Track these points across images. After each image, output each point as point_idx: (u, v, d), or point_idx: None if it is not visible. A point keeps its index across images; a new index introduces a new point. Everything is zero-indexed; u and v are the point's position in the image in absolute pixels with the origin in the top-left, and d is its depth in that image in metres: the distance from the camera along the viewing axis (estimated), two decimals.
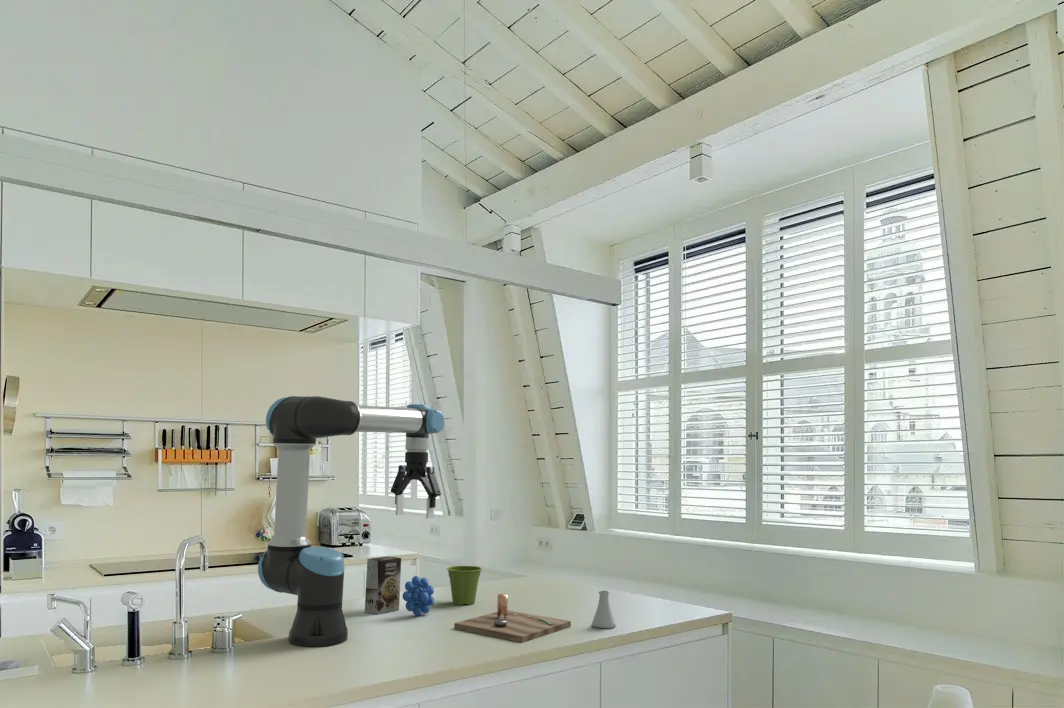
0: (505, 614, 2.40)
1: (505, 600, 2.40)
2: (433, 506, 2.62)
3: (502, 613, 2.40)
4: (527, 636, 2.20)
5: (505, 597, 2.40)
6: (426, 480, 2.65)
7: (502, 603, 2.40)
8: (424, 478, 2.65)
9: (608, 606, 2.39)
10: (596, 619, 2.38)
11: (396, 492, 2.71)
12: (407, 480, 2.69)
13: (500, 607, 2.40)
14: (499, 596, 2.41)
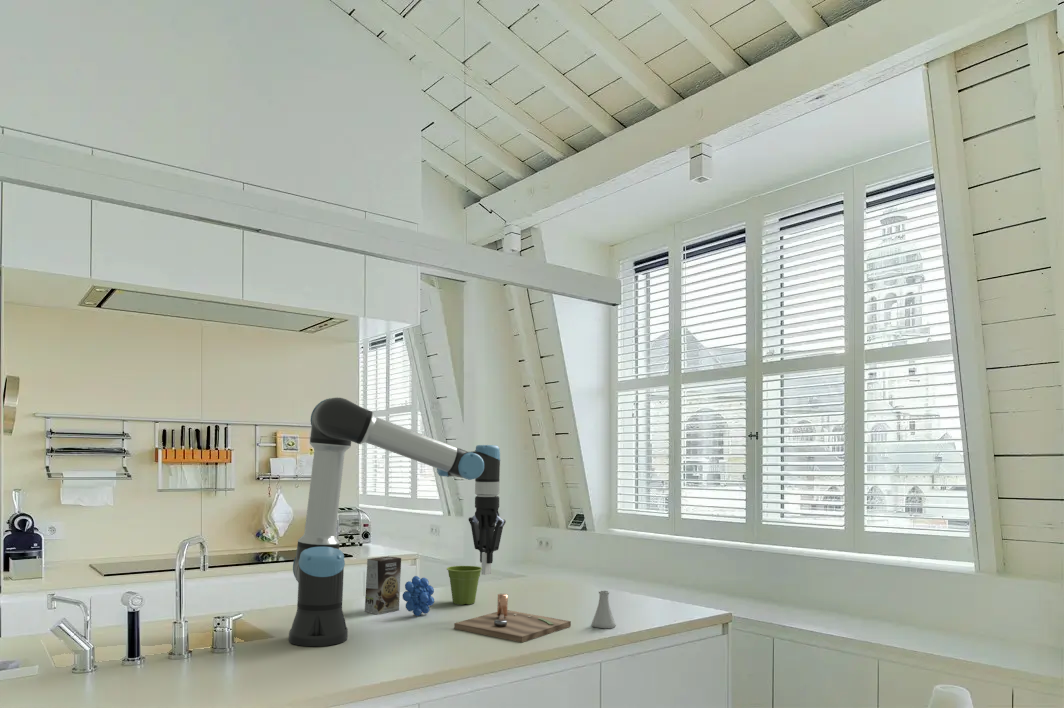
0: (505, 614, 2.40)
1: (505, 600, 2.40)
2: (490, 562, 2.47)
3: (502, 613, 2.40)
4: (527, 636, 2.20)
5: (505, 597, 2.40)
6: (492, 531, 2.48)
7: (502, 603, 2.40)
8: (491, 528, 2.48)
9: (608, 606, 2.39)
10: (596, 619, 2.38)
11: (481, 548, 2.48)
12: (484, 529, 2.49)
13: (500, 607, 2.40)
14: (499, 596, 2.41)
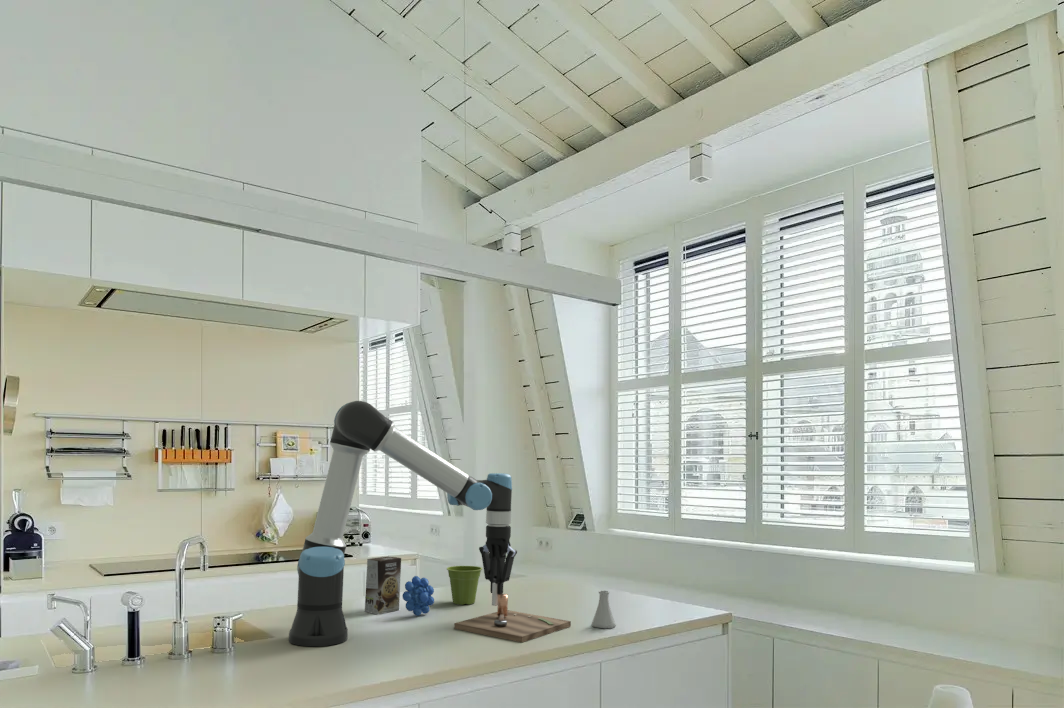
0: (505, 614, 2.40)
1: (505, 600, 2.40)
2: (501, 592, 2.43)
3: (502, 613, 2.40)
4: (527, 636, 2.20)
5: (505, 597, 2.40)
6: (502, 561, 2.44)
7: (502, 603, 2.40)
8: (502, 559, 2.44)
9: (608, 606, 2.39)
10: (596, 619, 2.38)
11: (491, 579, 2.44)
12: (495, 559, 2.45)
13: (501, 607, 2.40)
14: (499, 596, 2.41)
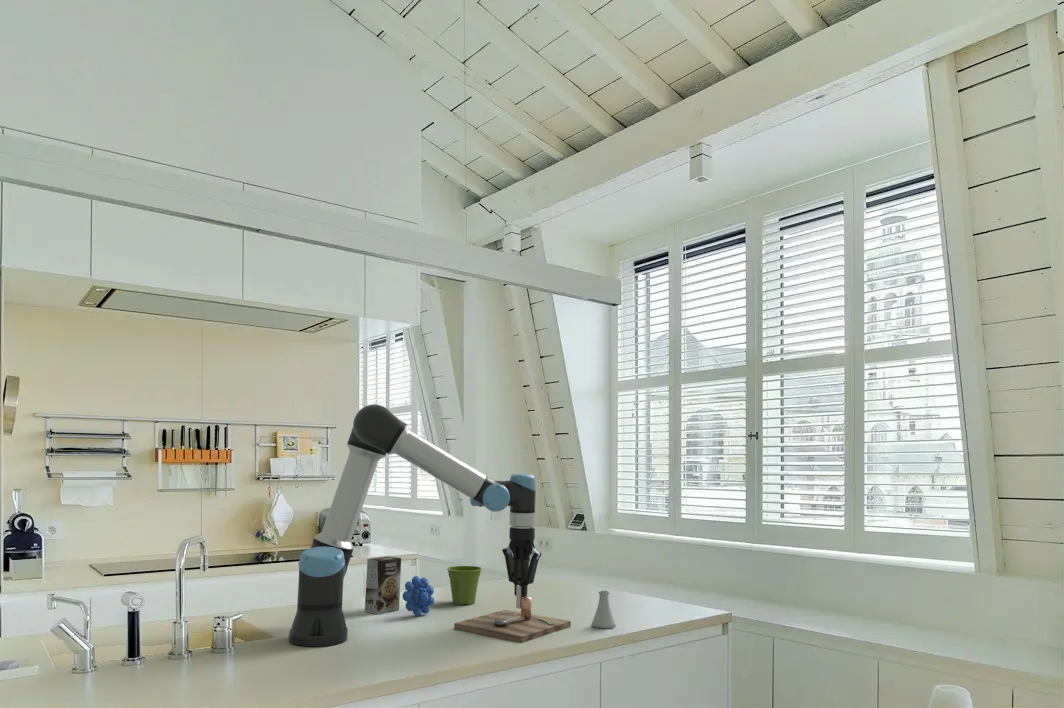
0: (526, 617, 2.37)
1: (525, 602, 2.37)
2: (525, 595, 2.39)
3: (522, 615, 2.37)
4: (527, 636, 2.20)
5: (525, 599, 2.38)
6: (527, 564, 2.40)
7: (522, 605, 2.38)
8: (526, 561, 2.40)
9: (608, 606, 2.39)
10: (596, 619, 2.38)
11: (515, 581, 2.40)
12: (519, 561, 2.41)
13: (521, 608, 2.38)
14: (521, 598, 2.39)
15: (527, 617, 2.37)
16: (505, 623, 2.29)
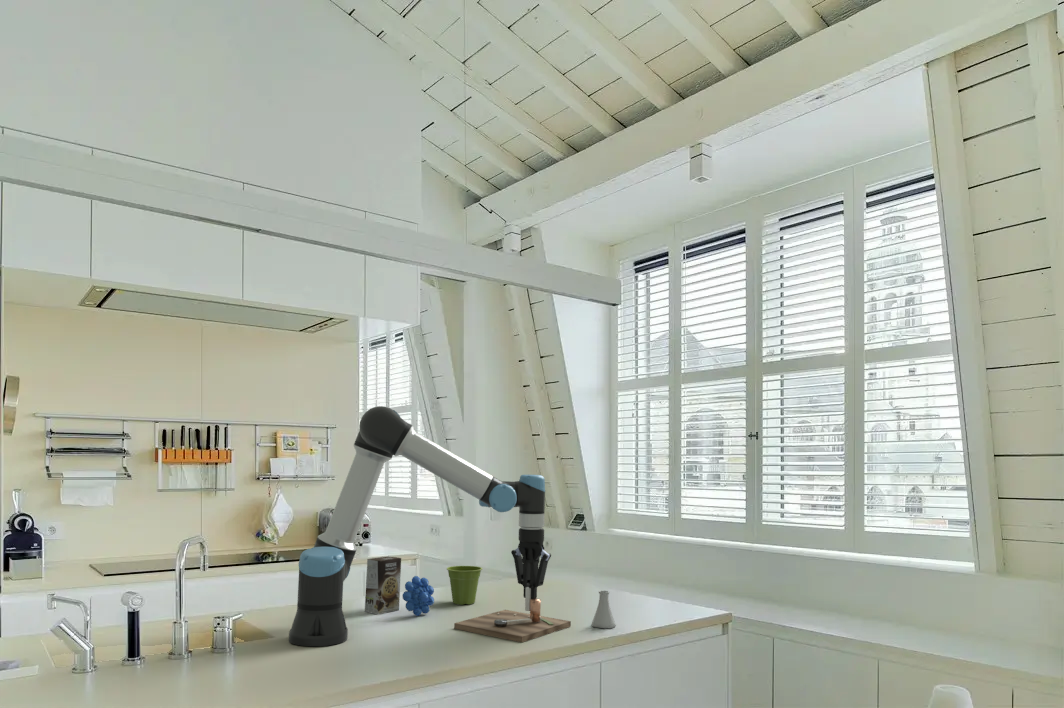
0: (533, 619, 2.34)
1: (532, 604, 2.34)
2: (534, 597, 2.36)
3: (530, 618, 2.34)
4: (527, 636, 2.20)
5: (533, 602, 2.34)
6: (536, 565, 2.37)
7: (530, 608, 2.35)
8: (535, 563, 2.37)
9: (608, 606, 2.39)
10: (596, 619, 2.38)
11: (524, 583, 2.37)
12: (528, 562, 2.38)
13: (530, 611, 2.35)
14: None
15: (534, 620, 2.34)
16: (503, 623, 2.29)
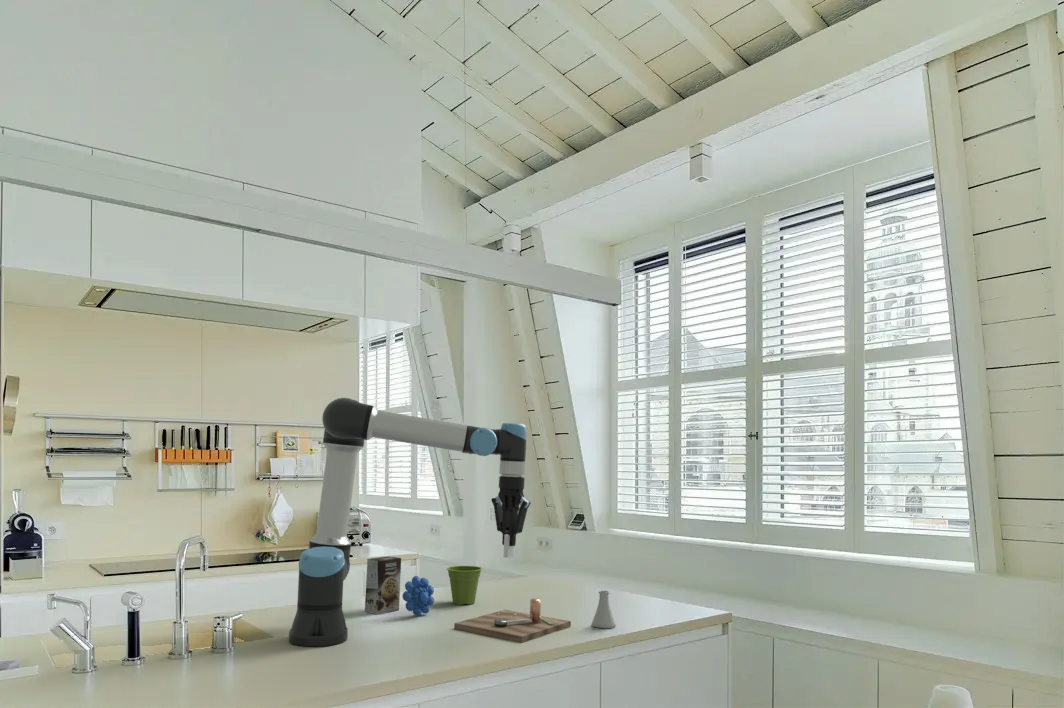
0: (533, 619, 2.34)
1: (532, 604, 2.34)
2: (513, 544, 2.37)
3: (530, 618, 2.34)
4: (527, 636, 2.20)
5: (533, 602, 2.34)
6: (515, 513, 2.38)
7: (530, 608, 2.35)
8: (515, 510, 2.38)
9: (608, 606, 2.39)
10: (596, 619, 2.38)
11: (503, 530, 2.39)
12: (507, 510, 2.40)
13: (530, 611, 2.35)
14: None
15: (534, 620, 2.34)
16: (503, 623, 2.29)
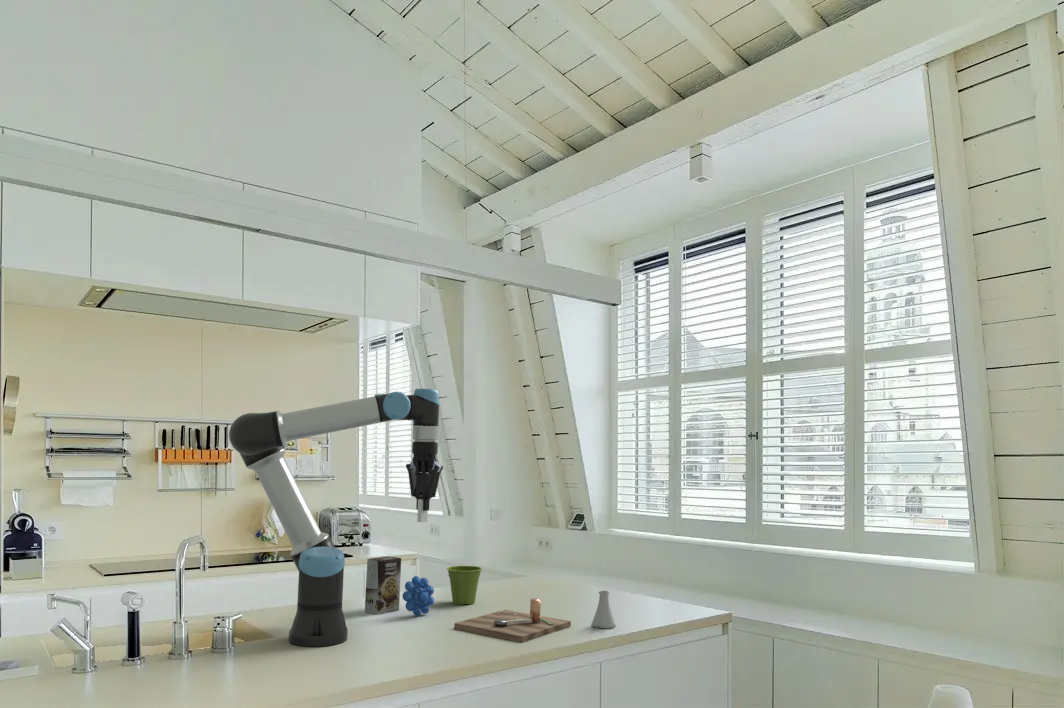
0: (533, 619, 2.34)
1: (532, 604, 2.34)
2: (427, 509, 2.38)
3: (530, 618, 2.34)
4: (527, 636, 2.20)
5: (533, 602, 2.34)
6: (429, 477, 2.39)
7: (530, 608, 2.35)
8: (428, 475, 2.39)
9: (608, 606, 2.39)
10: (596, 619, 2.38)
11: (417, 495, 2.39)
12: (421, 475, 2.40)
13: (530, 611, 2.35)
14: None
15: (534, 620, 2.34)
16: (503, 623, 2.29)
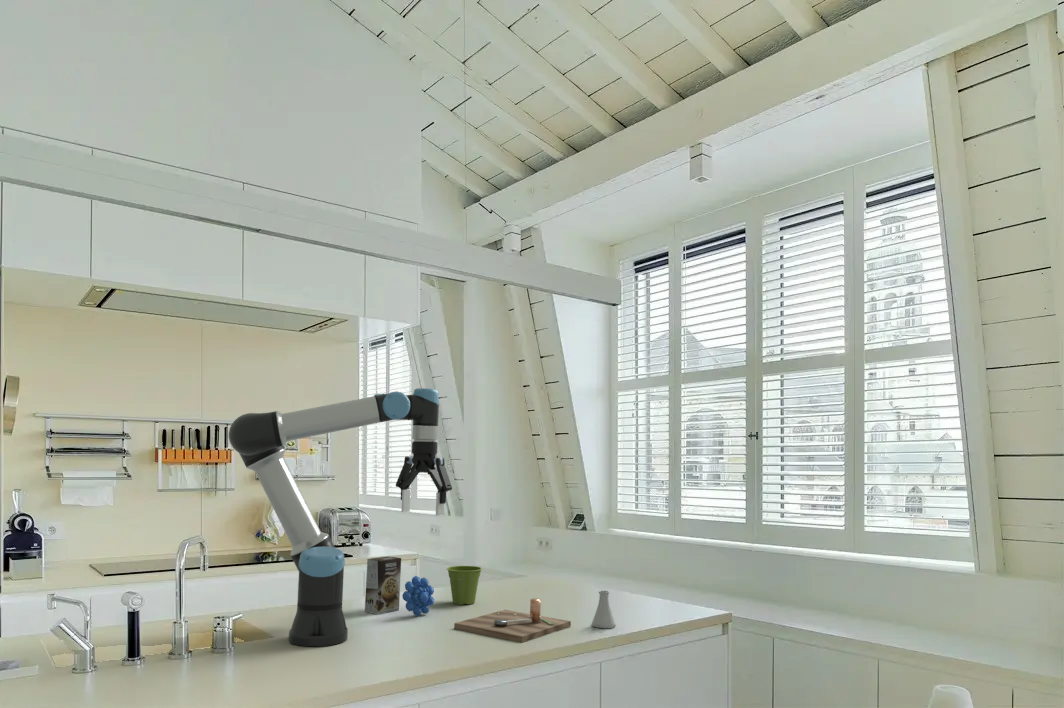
0: (533, 619, 2.34)
1: (532, 604, 2.34)
2: (443, 502, 2.35)
3: (530, 618, 2.34)
4: (527, 636, 2.20)
5: (533, 602, 2.34)
6: (435, 473, 2.38)
7: (530, 608, 2.35)
8: (433, 471, 2.38)
9: (608, 606, 2.39)
10: (596, 619, 2.38)
11: (402, 486, 2.43)
12: (414, 473, 2.42)
13: (530, 611, 2.35)
14: None
15: (534, 620, 2.34)
16: (503, 623, 2.29)
